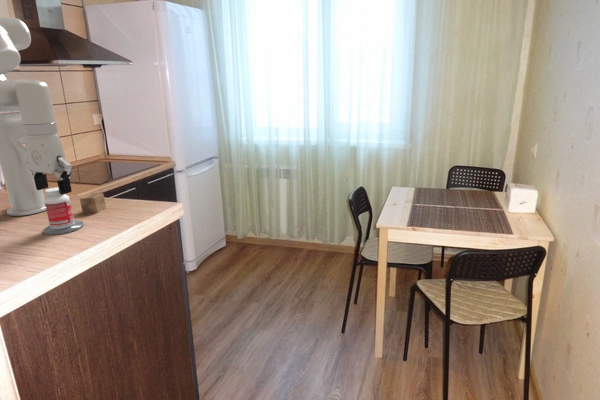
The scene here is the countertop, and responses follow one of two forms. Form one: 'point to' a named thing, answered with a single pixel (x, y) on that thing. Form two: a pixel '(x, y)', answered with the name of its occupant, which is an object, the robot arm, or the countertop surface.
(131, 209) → the countertop surface
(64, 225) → the pill bottle
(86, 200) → the light brown wooden block
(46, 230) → the coaster
